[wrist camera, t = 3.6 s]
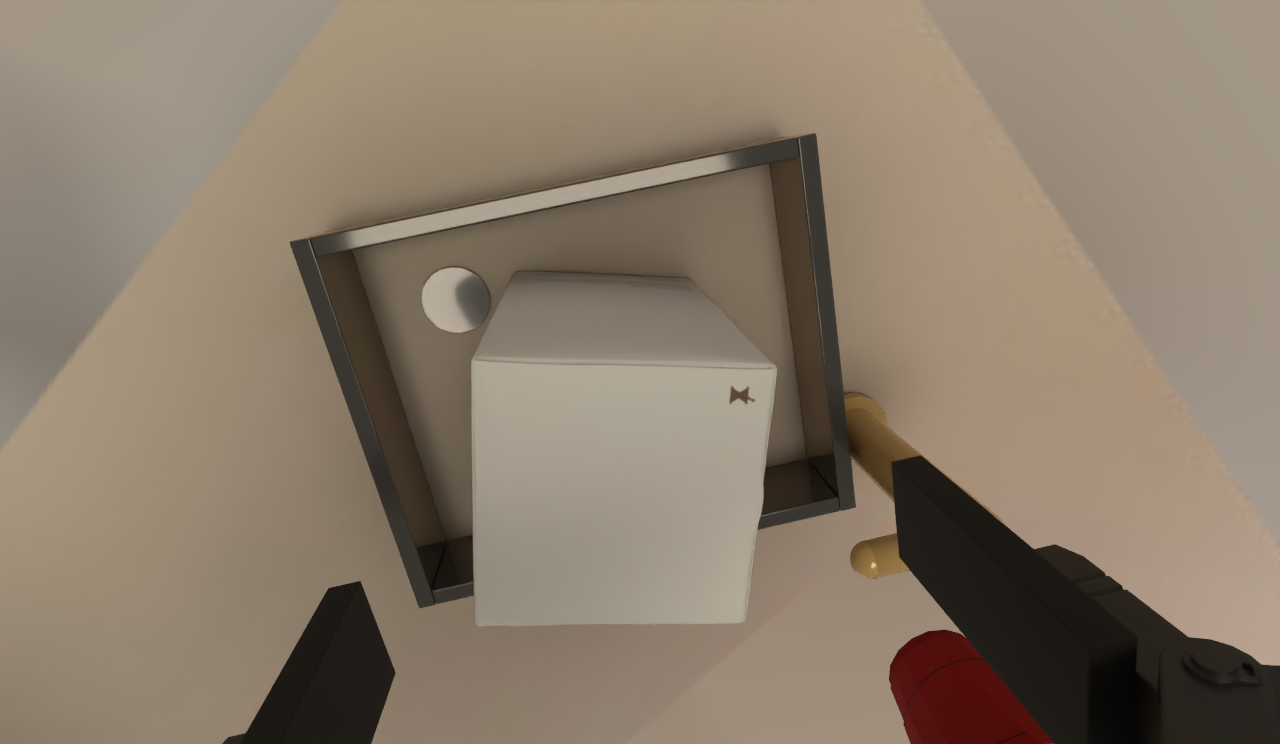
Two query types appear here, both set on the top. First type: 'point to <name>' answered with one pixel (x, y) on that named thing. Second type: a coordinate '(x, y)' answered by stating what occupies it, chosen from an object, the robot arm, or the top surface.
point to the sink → (464, 301)
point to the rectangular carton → (615, 454)
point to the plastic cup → (956, 695)
